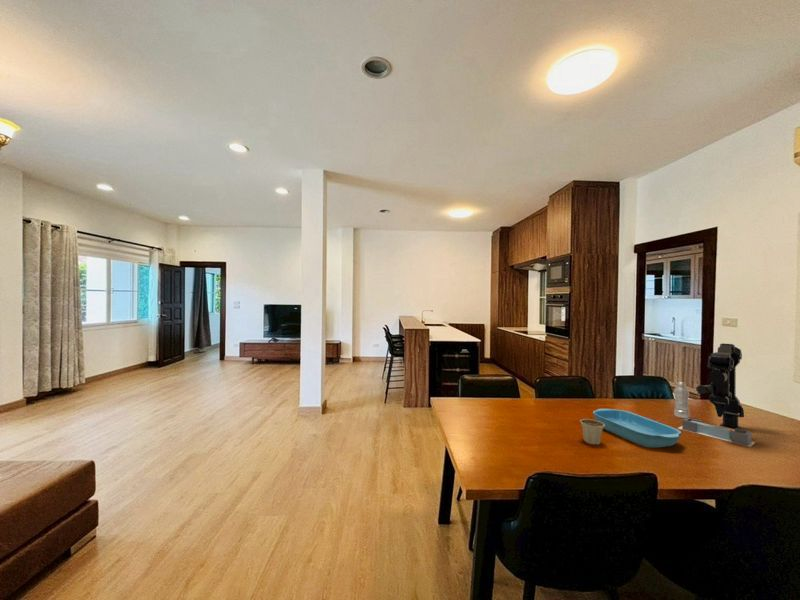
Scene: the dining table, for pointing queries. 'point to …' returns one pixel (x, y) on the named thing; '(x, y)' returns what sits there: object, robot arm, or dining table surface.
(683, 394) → the plastic bottle
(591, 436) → the flower pot
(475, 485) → the dining table surface
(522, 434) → the dining table surface
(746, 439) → the cap sliding
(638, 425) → the casserole dish
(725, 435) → the slat
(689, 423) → the cap fixed
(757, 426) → the dining table surface
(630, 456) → the dining table surface
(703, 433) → the board
